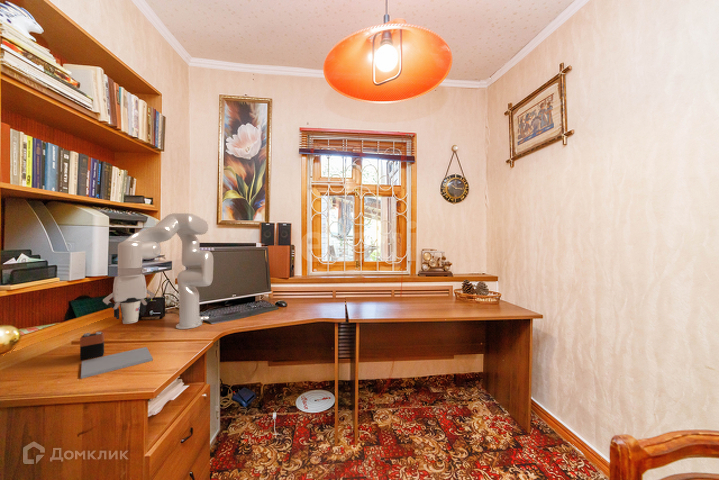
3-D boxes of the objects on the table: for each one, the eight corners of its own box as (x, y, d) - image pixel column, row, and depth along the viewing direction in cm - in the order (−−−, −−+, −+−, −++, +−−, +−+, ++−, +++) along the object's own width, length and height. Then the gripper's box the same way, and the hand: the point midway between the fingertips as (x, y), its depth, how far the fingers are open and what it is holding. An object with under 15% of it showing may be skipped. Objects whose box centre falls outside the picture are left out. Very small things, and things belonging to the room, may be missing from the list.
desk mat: (146, 349, 119) (146, 346, 119) (152, 360, 108) (152, 357, 108) (81, 363, 105) (81, 361, 105) (80, 378, 94) (80, 375, 94)
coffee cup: (116, 325, 103) (116, 299, 103) (120, 321, 109) (120, 296, 109) (140, 322, 107) (140, 297, 107) (142, 318, 113) (142, 294, 113)
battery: (81, 357, 111) (81, 333, 111) (104, 353, 115) (104, 329, 115) (79, 361, 107) (79, 336, 107) (103, 356, 112) (103, 332, 112)
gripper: (155, 269, 117) (155, 310, 117) (99, 273, 104) (99, 319, 104) (158, 271, 112) (158, 314, 112) (100, 275, 99) (101, 323, 99)
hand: (130, 316), depth 108 cm, fingers closed on coffee cup, 7 cm apart
